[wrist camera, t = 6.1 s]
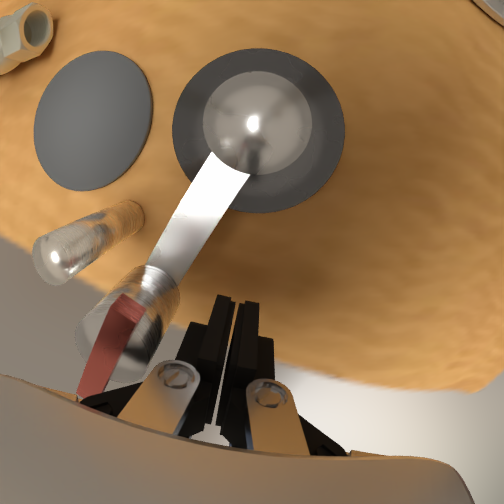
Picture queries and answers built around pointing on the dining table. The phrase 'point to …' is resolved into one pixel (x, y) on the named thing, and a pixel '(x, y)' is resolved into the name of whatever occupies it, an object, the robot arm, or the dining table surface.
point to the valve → (24, 35)
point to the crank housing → (197, 152)
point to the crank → (193, 222)
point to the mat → (93, 120)
